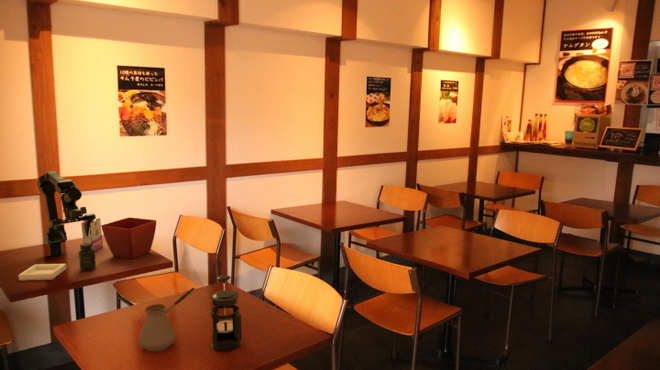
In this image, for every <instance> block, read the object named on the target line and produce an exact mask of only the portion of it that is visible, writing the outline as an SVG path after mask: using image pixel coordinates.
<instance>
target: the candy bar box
mask: <svg viewBox="0 0 660 370" xmlns="http://www.w3.org/2000/svg"><path fill="white" fill-rule="evenodd" d="M83 223H85V222H84V221H81V223H80V224H81V233H82V244H84V243H91V244H92V249H93V250H94V251H95V253H96V252H98V251H99V250H101V249H102V248H103V247H104V245H103V244H104V243H103V242H104V241H103V234H102V233H103V231H102V227H101V225H102V222H101V217H96V219H95V220H93V222H91V224H90V227H89V234H88V237H87V236H86V233H85V229H84V224H83Z"/></svg>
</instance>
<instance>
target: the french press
mask: <svg viewBox="0 0 660 370" xmlns="http://www.w3.org/2000/svg"><path fill="white" fill-rule="evenodd" d="M231 278H232V277H231V275H227V274H225V275H224V274H223V275H220V276H218V277H217V278H216V279H217V280H218V281H221V282H222V283H223V289H220V290H217V291H214V292H212V293H211V294H210V296H209V298H210V300H211V304H212V305H213V307H212V308H211V309H210V316H211V318H212V326H211V329H212V332H213V333H212V334H211V344H210V345H211V346H210V347H211V349H212V350H214V351H216V352H221V353H226V352H232V351H234V350H237V349H238V348H239V347H241V345H242V341H243V335H242V334H243V333H242V330H243V329H242V314H241V313H240V307H239V306H238V305H237V303H238V301H239V300H238V299H239V296H240V294H239V292H238V291H236V290H233V289H226V285H225V284H226V281H228V280H230V279H231ZM220 309H223V310H224V314H223V315H221V314H220V315H219V310H220ZM226 309H232V311H233V312H232V313H230V314H227V313H226V311H227V310H226ZM230 319H231V320H230ZM222 340H226V341H222Z"/></svg>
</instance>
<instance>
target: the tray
mask: <svg viewBox="0 0 660 370" xmlns="http://www.w3.org/2000/svg"><path fill="white" fill-rule="evenodd" d="M67 269H68V268H67V263H39V264H36V263H35V264H33V265H32V266H30V267H29V268H27V269H25V270H24V271H22V272H21V273H19V274H18V281H44V280H45V281H47V280H51V281H52V280H54V279H56V278H57V277H58V276H60V273H61V274H62V273H63V272H64V271H66V270H67ZM56 276H57V277H56Z"/></svg>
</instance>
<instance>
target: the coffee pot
mask: <svg viewBox="0 0 660 370" xmlns="http://www.w3.org/2000/svg"><path fill="white" fill-rule="evenodd" d="M191 292H194V293H197V292H198V291H197V289H196V288H194V287H192V288H190V289H189V290H187V291H186V293H184V294H183V295H180V297H179V298H178V299H177V300H176V301H175V302H174V303H173V304H172V305H171V306H169V307H168V308H167V306H166V305H165V304H161V303H155V304H150V305H147V306H145V308H144V312H145V313H146V317H145V321H144V322H143V326H142V328H141V330H140V333H139V335H138V338H137V341H138V344H139V346H140V347H142V348H143V349H145V350H146V352H147V351H148V352H153V353H154V352H161V351H164V350H166V349H168V348H169V347H170V346H171V345H172V344H173V343H174V342H175V340H176V337H177V335H176V334H177V333H176V331H175V330H174V328H173V326H172V324H171V322H170V320H169V319H168V317H167V314H168V313H169V312H170V311H171V310H172V309H174V307H176V306H177V305H178V304H180V303H181V302H182V301H184V299H185V298H187V297H188V296H189V295H190V294H191Z"/></svg>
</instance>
